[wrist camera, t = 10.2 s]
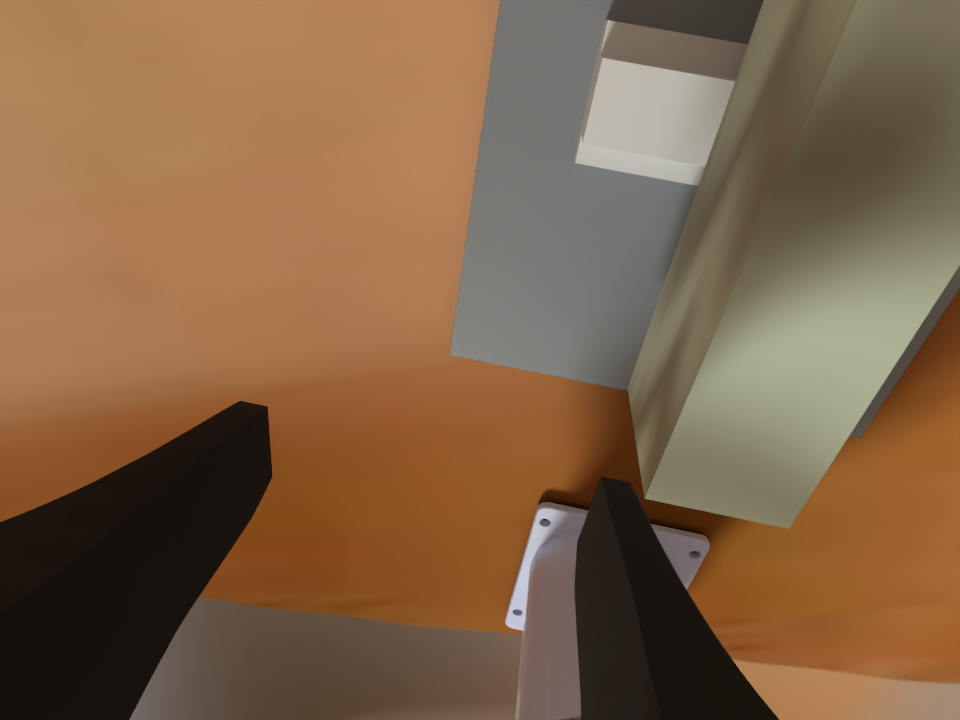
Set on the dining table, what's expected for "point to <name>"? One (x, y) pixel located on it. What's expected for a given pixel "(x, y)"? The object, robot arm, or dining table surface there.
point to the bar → (803, 254)
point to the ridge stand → (598, 180)
